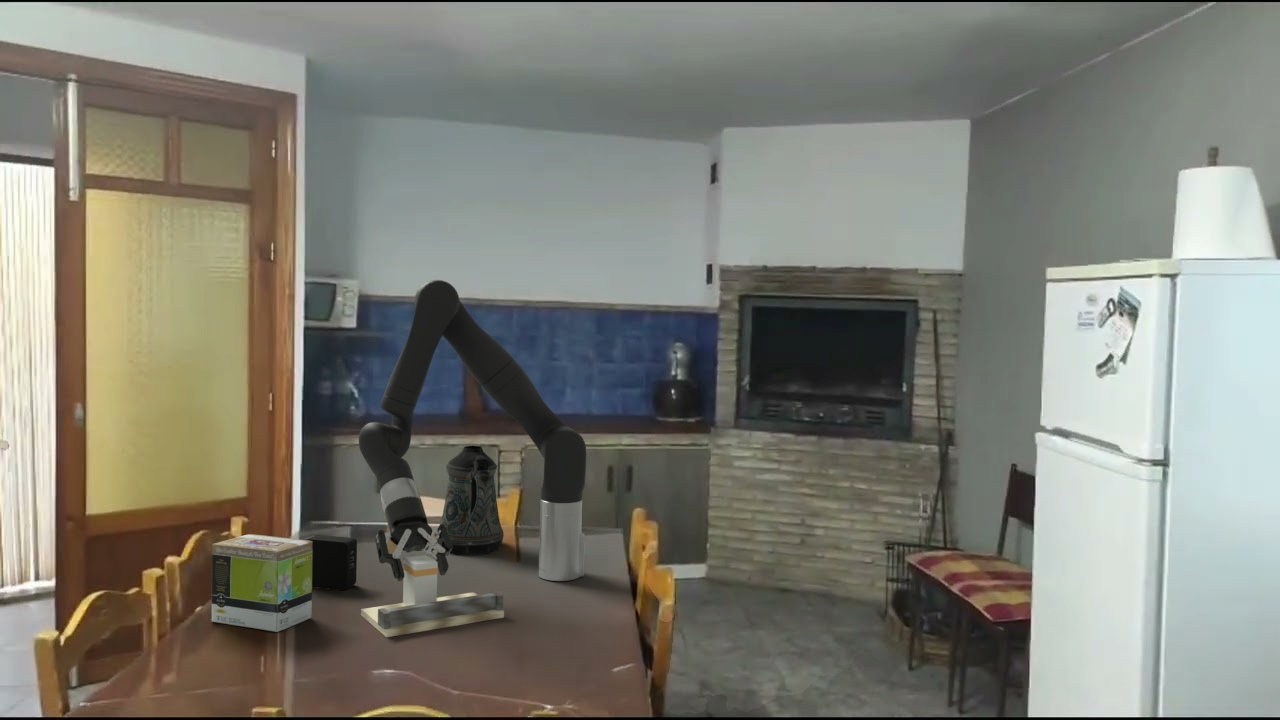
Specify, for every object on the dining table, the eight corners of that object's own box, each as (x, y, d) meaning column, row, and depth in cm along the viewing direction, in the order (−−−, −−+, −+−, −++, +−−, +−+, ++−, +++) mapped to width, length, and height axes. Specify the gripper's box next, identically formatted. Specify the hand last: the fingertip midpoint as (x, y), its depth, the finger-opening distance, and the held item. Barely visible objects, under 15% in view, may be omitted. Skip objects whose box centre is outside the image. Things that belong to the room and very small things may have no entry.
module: (424, 599, 185) (425, 554, 184) (436, 608, 179) (437, 562, 179) (402, 603, 182) (403, 557, 182) (414, 612, 177) (415, 564, 176)
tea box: (313, 617, 175) (315, 539, 175) (276, 634, 166) (277, 551, 165) (248, 607, 180) (249, 531, 180) (208, 622, 171) (209, 542, 170)
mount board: (474, 597, 191) (474, 578, 191) (504, 617, 179) (505, 596, 179) (359, 615, 177) (360, 594, 177) (385, 637, 166) (385, 615, 166)
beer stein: (470, 535, 244) (473, 440, 243) (525, 548, 233) (528, 448, 232) (421, 547, 231) (423, 446, 230) (477, 561, 219) (480, 454, 218)
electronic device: (346, 590, 193) (347, 542, 192) (302, 586, 195) (303, 538, 194) (356, 585, 197) (357, 538, 197) (313, 581, 199) (313, 534, 199)
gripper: (372, 498, 182) (392, 570, 173) (441, 492, 190) (463, 561, 182) (363, 519, 187) (381, 591, 178) (431, 513, 195) (452, 581, 186)
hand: (423, 576), depth 180 cm, fingers open, 8 cm apart
